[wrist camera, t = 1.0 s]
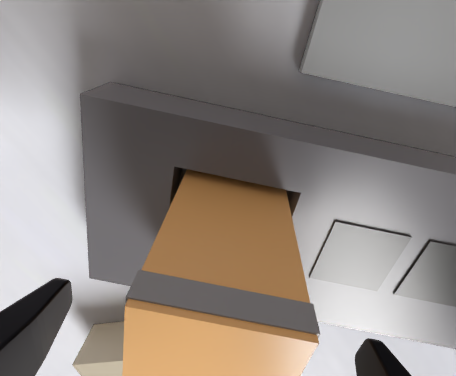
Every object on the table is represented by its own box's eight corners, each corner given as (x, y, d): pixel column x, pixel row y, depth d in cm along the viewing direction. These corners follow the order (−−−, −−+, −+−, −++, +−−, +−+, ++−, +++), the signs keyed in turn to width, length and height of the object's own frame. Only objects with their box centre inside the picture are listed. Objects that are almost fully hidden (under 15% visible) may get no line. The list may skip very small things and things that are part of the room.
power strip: (643, 197, 13) (746, 241, 10) (510, 324, 17) (558, 378, 15) (110, 82, 12) (70, 97, 10) (110, 245, 17) (83, 287, 14)
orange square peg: (284, 176, 13) (322, 342, 6) (261, 247, 15) (269, 433, 8) (191, 156, 13) (122, 304, 6) (180, 231, 15) (119, 406, 8)
